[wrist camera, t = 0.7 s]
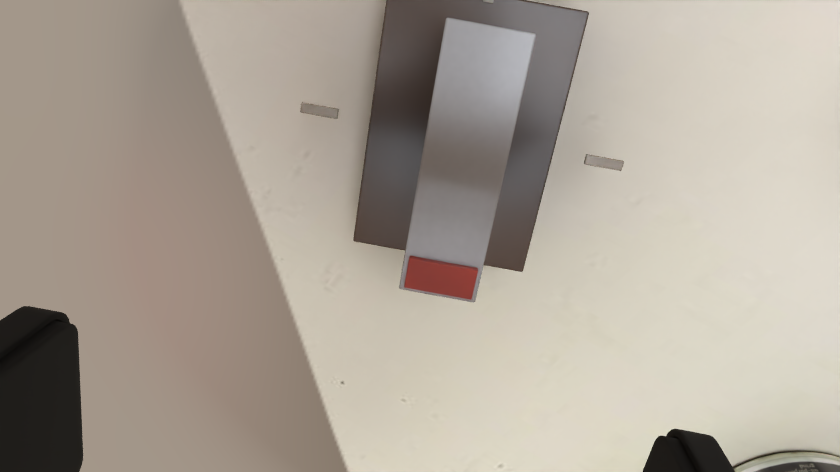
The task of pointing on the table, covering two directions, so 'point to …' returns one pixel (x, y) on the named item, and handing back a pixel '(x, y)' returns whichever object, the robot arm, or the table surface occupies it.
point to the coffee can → (792, 463)
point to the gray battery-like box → (464, 156)
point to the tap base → (410, 106)
